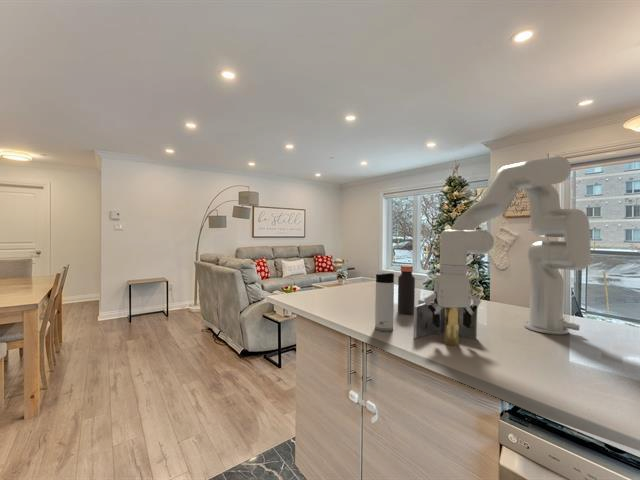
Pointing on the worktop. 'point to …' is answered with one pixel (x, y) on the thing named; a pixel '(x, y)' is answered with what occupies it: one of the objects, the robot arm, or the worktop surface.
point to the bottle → (406, 290)
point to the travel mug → (384, 302)
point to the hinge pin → (451, 326)
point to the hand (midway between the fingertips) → (451, 326)
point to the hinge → (426, 325)
